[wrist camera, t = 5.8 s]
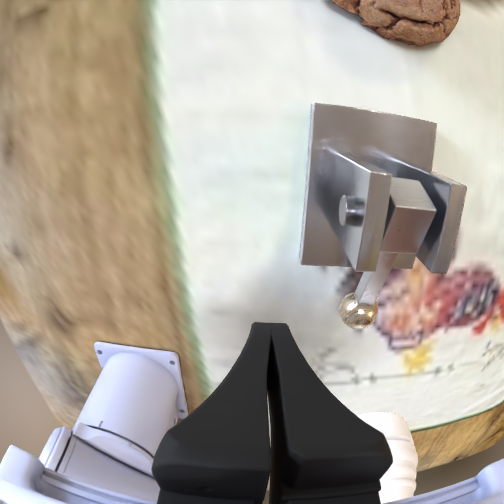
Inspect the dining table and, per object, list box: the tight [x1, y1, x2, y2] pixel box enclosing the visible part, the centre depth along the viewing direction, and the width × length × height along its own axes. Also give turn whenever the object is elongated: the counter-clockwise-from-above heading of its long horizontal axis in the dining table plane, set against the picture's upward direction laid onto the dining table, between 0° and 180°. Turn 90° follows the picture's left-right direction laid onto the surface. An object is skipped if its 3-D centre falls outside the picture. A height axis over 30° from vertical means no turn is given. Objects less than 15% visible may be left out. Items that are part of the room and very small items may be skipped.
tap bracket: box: [299, 103, 467, 274], centre depth 16 cm, size 10×8×7 cm
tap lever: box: [339, 177, 437, 329], centre depth 17 cm, size 11×3×3 cm, turn 178°
